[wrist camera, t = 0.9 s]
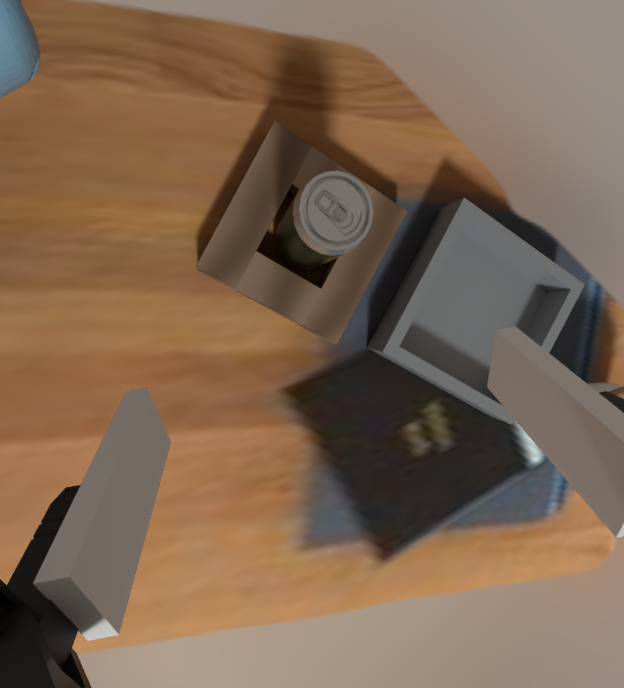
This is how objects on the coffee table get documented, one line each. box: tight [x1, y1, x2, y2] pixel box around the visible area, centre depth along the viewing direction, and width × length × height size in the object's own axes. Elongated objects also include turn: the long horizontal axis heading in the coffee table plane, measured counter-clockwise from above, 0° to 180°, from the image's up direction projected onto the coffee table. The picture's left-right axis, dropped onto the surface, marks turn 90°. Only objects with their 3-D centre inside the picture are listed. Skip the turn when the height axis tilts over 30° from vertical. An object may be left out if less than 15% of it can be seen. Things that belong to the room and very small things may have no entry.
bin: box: [367, 198, 585, 424], centre depth 38 cm, size 16×16×4 cm
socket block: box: [196, 121, 407, 344], centre depth 34 cm, size 14×14×2 cm
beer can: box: [274, 171, 373, 271], centre depth 30 cm, size 5×5×12 cm
